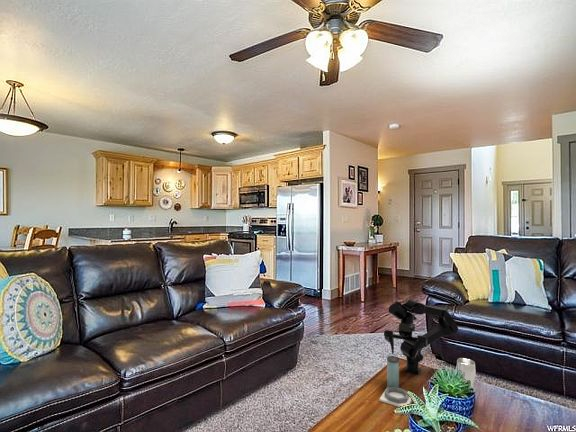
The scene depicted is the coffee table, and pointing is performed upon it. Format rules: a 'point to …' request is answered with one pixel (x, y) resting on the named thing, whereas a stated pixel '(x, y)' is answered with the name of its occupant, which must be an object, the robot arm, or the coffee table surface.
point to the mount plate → (395, 397)
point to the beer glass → (467, 369)
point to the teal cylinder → (392, 371)
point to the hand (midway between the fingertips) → (403, 355)
